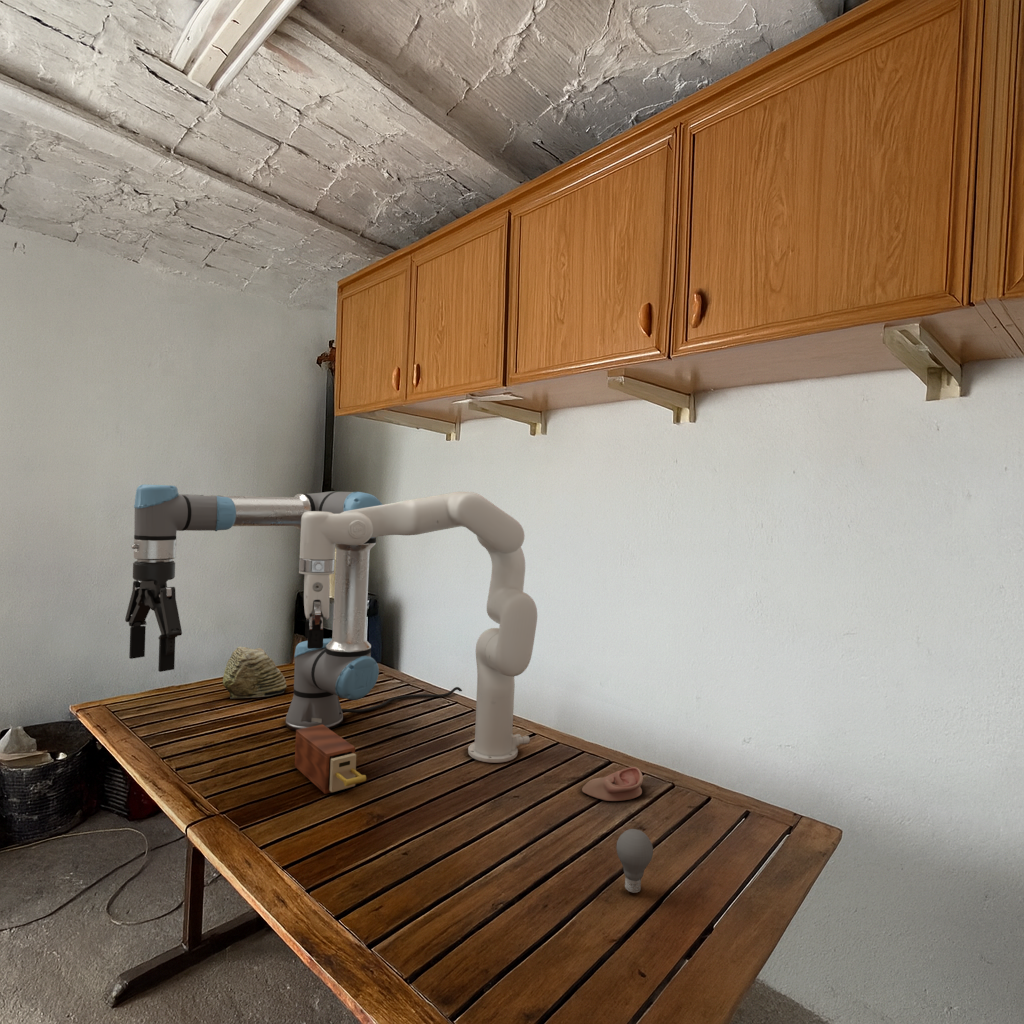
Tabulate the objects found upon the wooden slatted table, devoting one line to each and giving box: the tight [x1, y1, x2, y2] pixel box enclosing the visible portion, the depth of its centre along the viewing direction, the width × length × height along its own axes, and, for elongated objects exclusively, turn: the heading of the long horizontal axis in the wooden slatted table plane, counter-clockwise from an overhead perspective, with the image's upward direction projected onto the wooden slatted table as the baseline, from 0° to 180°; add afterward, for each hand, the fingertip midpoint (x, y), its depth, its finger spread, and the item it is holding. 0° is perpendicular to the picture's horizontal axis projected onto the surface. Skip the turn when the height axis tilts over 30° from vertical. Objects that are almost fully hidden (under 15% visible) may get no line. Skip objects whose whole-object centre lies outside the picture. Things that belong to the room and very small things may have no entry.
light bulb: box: [615, 828, 654, 894], centre depth 106 cm, size 6×6×10 cm
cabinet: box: [294, 724, 356, 795], centre depth 144 cm, size 17×7×9 cm, turn 40°
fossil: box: [222, 646, 288, 699], centre depth 198 cm, size 9×18×15 cm, turn 132°
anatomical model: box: [581, 766, 644, 802], centre depth 142 cm, size 13×4×12 cm
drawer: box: [329, 752, 367, 793], centre depth 140 cm, size 22×5×7 cm, turn 41°
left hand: (151, 663), depth 129 cm, fingers open, 13 cm apart
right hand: (313, 642), depth 141 cm, fingers open, 9 cm apart
